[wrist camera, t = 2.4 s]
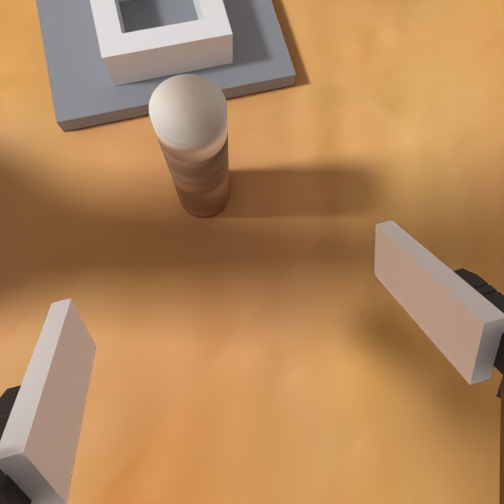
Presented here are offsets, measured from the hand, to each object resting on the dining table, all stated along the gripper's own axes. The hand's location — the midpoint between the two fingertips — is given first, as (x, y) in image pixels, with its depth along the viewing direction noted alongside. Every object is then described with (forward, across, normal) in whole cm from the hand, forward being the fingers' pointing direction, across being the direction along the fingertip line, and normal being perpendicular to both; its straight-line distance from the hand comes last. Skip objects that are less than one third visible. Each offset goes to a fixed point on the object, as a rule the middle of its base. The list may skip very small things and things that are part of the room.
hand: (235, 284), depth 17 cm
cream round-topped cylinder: (+19, 0, -4) cm, 19 cm away
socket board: (+31, 0, +9) cm, 32 cm away
